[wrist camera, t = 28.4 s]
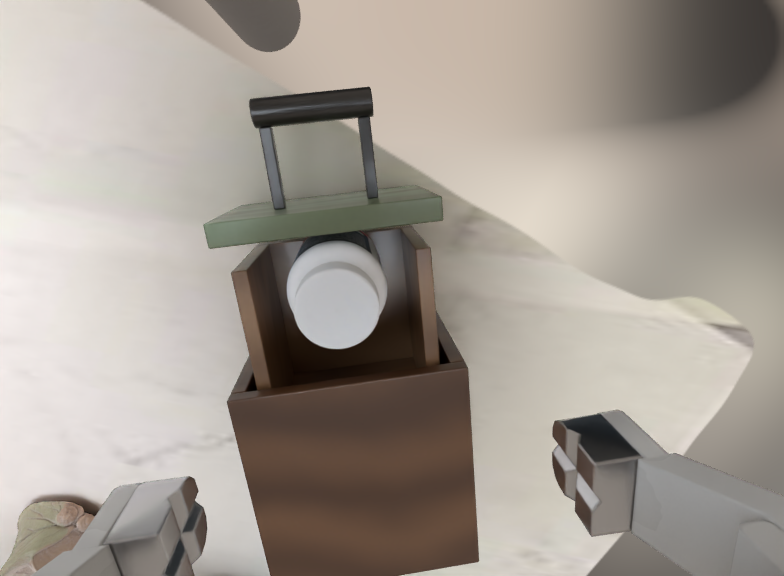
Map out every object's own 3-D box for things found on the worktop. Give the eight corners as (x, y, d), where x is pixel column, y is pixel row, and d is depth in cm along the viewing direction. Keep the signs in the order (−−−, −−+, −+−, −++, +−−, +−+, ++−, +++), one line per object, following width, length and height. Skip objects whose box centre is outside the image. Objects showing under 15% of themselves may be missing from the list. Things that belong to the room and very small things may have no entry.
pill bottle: (281, 250, 28) (253, 292, 19) (350, 206, 28) (352, 230, 19) (328, 315, 29) (321, 381, 21) (394, 275, 29) (413, 324, 21)
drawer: (221, 112, 26) (172, 97, 19) (409, 93, 27) (433, 71, 20) (276, 378, 32) (255, 447, 24) (431, 356, 32) (457, 417, 25)
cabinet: (261, 329, 31) (226, 401, 22) (433, 306, 32) (468, 367, 23) (293, 483, 36) (275, 597, 26) (446, 459, 36) (479, 562, 27)
